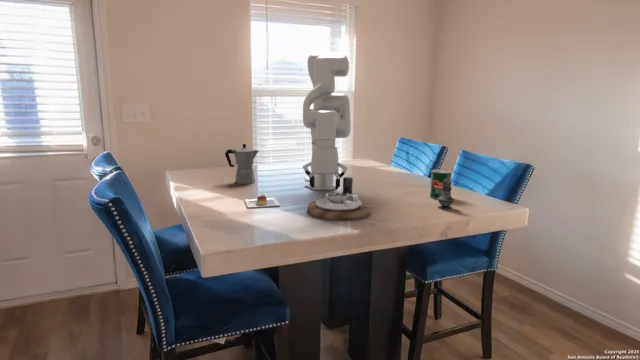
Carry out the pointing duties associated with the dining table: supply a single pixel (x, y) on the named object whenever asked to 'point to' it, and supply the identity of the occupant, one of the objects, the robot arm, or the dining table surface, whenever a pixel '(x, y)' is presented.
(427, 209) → the dining table surface
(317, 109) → the robot arm
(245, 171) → the coffeepot
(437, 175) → the canned tomato
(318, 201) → the crank handle
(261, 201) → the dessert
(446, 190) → the gray candlestick
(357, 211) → the base
